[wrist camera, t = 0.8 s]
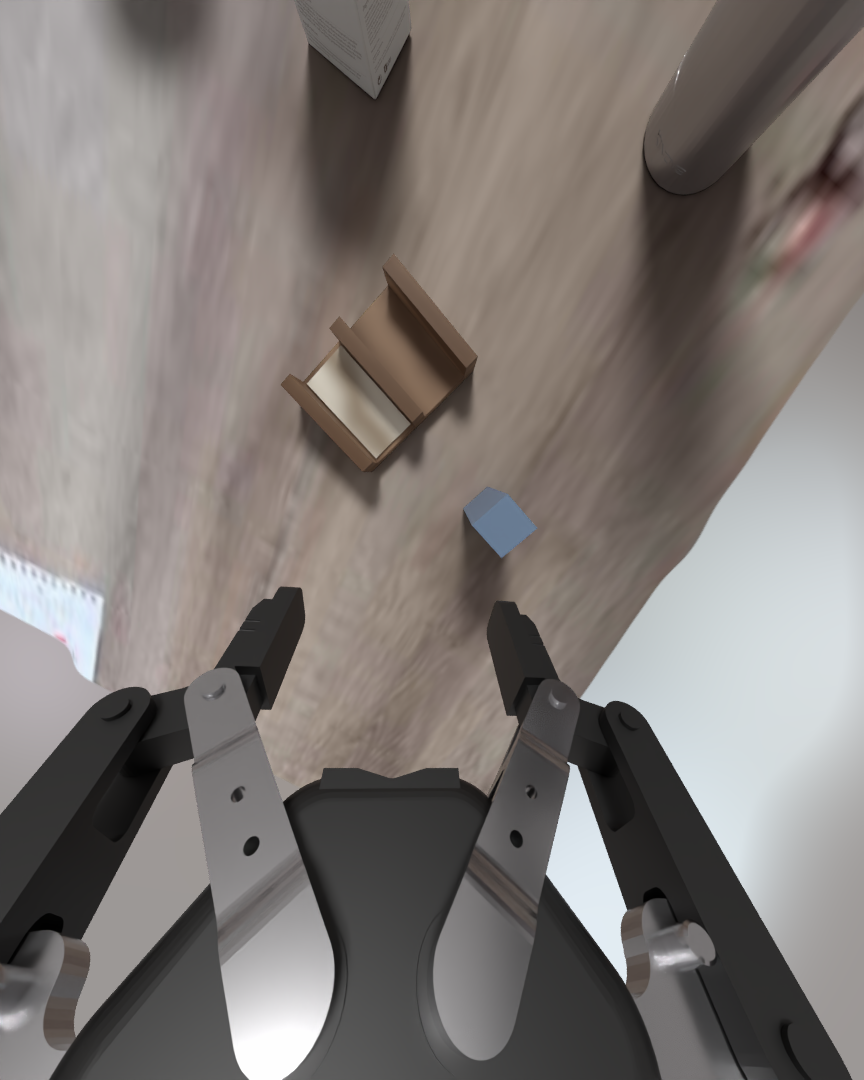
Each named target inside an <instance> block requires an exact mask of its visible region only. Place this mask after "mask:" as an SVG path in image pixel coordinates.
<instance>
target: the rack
mask: <svg viewBox="0 0 864 1080" xmlns="http://www.w3.org/2000/svg"><path fill="white" fill-rule="evenodd" d="M383 270H384V273H385V277H386V280H387V283H388V286H387V287H386V288H385V290H384V291H383V292H382V293H381V294H380V295H379V296H378V297H377V299H376V300H375V301H374V302H373V303H372V304H371V305H370V307H369V308H368V309H367V310H366V311H365V312H364V313H363V315H362V316H361V317H360V318H359V319H358V320H357V321H356V322H355V324H354V325H353V326H352V327H351V328H349V327H348V326H347V324H346V323H345V322H344V321H343V320H342V319H341V318H340V316H339V318H338V319H337V320H336V321H335V322H334V323H333V324H332V326H331V327H330V328H329V329H330V330H331V331H332V332H333V334H334V335H335V336H336V337H337V339H338V340H339V342H338V343H337V344H336V345H335V346H334V348H333V349H332V350H331V351H330V352H329V353H328V354H327V355H326V357H325V358H324V359H323V360H322V361H321V362H320V363H319V365H318V366H317V367H316V368H315V369H314V370H313V371H312V373H311V374H310V375H309V376H308V377H307V378H306V379H305V381H304V382H302V381H301V380H299V379H297V378H296V377H294V376H293V375H291V374H289V375H288V377H287V378H286V379H285V380H284V381H283V382H282V384H281V386H282V387H283V388H284V389H285V390H286V391H287V392H288V393H289V394H290V395H291V396H292V397H293V398H294V400H295V401H296V402H297V403H298V404H299V405H300V406H301V407H302V408H303V409H304V410H305V411H306V412H307V413H308V414H309V415H310V416H311V418H312V419H313V420H314V421H315V422H316V423H317V424H318V425H319V426H320V427H321V428H322V429H323V430H324V431H325V432H326V433H327V434H328V436H329V437H330V438H331V439H332V440H333V441H334V442H335V443H336V444H337V445H338V446H339V447H340V448H341V449H342V450H343V451H344V452H345V454H346V455H347V456H348V457H349V458H350V459H351V460H352V461H353V462H354V463H355V464H356V465H357V466H358V467H359V468H360V469H361V471H362V472H372V471H373V470H374V469H375V468H376V467H377V466H378V465H379V464H380V463H381V462H382V461H383V460H384V459H385V458H386V457H387V456H388V455H389V454H390V453H391V452H392V451H393V450H394V449H395V448H396V447H397V446H398V445H399V444H400V443H401V442H402V441H403V440H404V439H406V438H407V437H408V436H409V435H410V434H411V433H412V432H413V431H414V430H415V429H416V428H417V427H418V426H419V425H420V424H421V423H422V422H423V421H424V420H425V419H426V418H427V417H428V416H429V415H430V414H431V413H432V412H433V411H434V410H435V409H436V408H437V407H438V406H439V405H440V404H441V403H442V402H443V401H444V400H445V399H446V398H447V397H448V396H449V395H450V394H451V393H452V392H453V391H454V390H455V389H456V388H457V387H458V386H459V385H460V384H461V383H462V382H463V381H464V380H465V379H466V378H467V377H468V376H469V375H470V374H471V373H472V372H473V370H474V367H475V364H476V360H477V357H478V356H477V355H476V354H475V353H474V351H473V350H472V349H471V348H470V346H469V345H468V344H467V343H466V342H465V340H464V339H463V338H462V337H461V335H460V334H459V333H458V332H457V331H456V329H455V328H454V327H453V326H452V324H451V323H450V322H449V321H448V319H447V318H446V317H445V316H444V315H443V313H442V312H441V311H440V310H439V308H438V307H437V306H436V305H435V304H434V302H433V301H432V300H431V299H430V297H429V296H428V295H427V294H426V293H425V291H424V290H423V289H422V288H421V286H420V285H419V284H418V283H417V281H416V280H415V279H414V278H413V277H412V275H411V274H410V273H409V272H408V270H407V269H406V268H405V267H404V266H403V264H402V263H401V262H400V261H399V259H398V258H397V257H396V256H395V255H394V254H393V255H392V256H391V257H390V258H389V260H388V261H387V262H386V263H385V264H384V265H383Z"/></svg>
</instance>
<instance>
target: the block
mask: <svg viewBox="0 0 864 1080" xmlns="http://www.w3.org/2000/svg"><path fill="white" fill-rule="evenodd" d="M463 509H464V511H465V513H466V515H467V517H468V519H469V521H470V523H471V525H472V526H473V527H474V528H475V529H476V530H477V531H478V533H479V534H480V535H481V536H482V537H483V538H484V539H485V540H486V541H487V542H488V544H489V545H490V546H491V547H492V548H493V549H494V550H495V551H496V552H497V554H498V555H499V556H500V557H501V558H502V557H503V556H505V555H506V554H507V553H508V552H509V551H511V550H512V549H513V548H514V547H515V546H517V545H518V544H519V543H520V542H521V541H523V540H524V539H525V538H526V537H527V536H529V535H530V534H531V533H532V532H533V531H535V530H536V529H537V527H536V526H535V525H534V524H533V523H532V522H531V520H530V519H529V518H528V517H527V516H526V515H525V513H524V512H523V511H522V510H521V509H520V508H519V507H518V505H517V504H516V503H515V502H514V501H513V500H512V498H511V497H510V496H509V495H508V494H506V493H504V492H501V491H498V490H495V489H493V488H490V487H487V488H485V489H484V490H483V491H482V492H481V493H480V494H479V495H478V496H477V497H475V498H474V499H473V500H472V501H471V502H470V503H469V504H468V505H466V506H465V507H464V508H463Z"/></svg>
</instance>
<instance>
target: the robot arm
mask: <svg viewBox="0 0 864 1080" xmlns="http://www.w3.org/2000/svg"><path fill="white" fill-rule="evenodd" d="M863 27H864V0H717V1H716V3H715V5H714V7H713V8H712V10H711V12H710V13H709V15H708V17H707V19H706V20H705V22H704V24H703V25H702V27H701V29H700V31H699V32H698V34H697V36H696V37H695V39H694V41H693V43H692V44H691V46H690V48H689V49H688V51H687V53H686V54H685V56H684V58H683V59H682V61H681V63H680V65H679V66H678V68H677V70H676V71H675V73H674V75H673V77H672V78H671V80H670V82H669V83H668V85H667V87H666V89H665V90H664V92H663V94H662V96H661V97H660V99H659V101H658V102H657V104H656V106H655V108H654V110H653V112H652V114H651V116H650V118H649V122H648V125H647V129H646V133H645V141H644V151H645V159H646V163H647V167H648V169H649V172H650V174H651V176H652V177H653V179H654V180H655V181H656V182H657V183H658V185H659V186H661V187H662V188H664V189H665V190H667V191H669V192H672V193H675V194H684V195H686V194H692V193H697V192H699V191H701V190H704V189H706V188H708V187H709V186H711V185H712V184H713V183H715V182H716V181H717V180H718V179H719V178H720V177H721V176H722V175H723V174H724V173H725V172H726V171H727V170H728V169H729V168H730V167H731V166H732V165H733V164H734V163H735V162H736V161H737V160H738V159H739V158H740V157H741V155H742V154H743V153H744V152H745V151H746V150H747V149H748V148H749V147H750V146H751V145H752V144H753V143H754V142H755V141H756V140H757V139H758V138H759V137H760V136H761V135H762V134H763V133H764V131H765V130H766V129H767V128H768V127H769V126H770V125H771V124H772V123H773V122H774V121H775V120H776V119H777V118H778V117H779V116H780V115H781V114H782V112H783V111H784V110H785V109H786V108H787V107H788V106H789V105H790V104H791V103H792V102H793V101H794V100H795V99H796V98H797V97H798V96H799V94H800V93H801V92H802V91H803V90H804V89H805V88H806V87H807V86H808V85H809V84H810V83H811V82H812V81H813V80H814V79H815V78H816V77H817V75H818V74H819V73H820V72H821V71H822V70H823V69H824V68H825V67H826V66H827V65H828V64H829V63H830V62H831V61H832V60H833V59H834V58H835V56H836V55H837V54H838V53H839V52H840V51H841V50H842V49H843V48H844V47H845V46H846V45H847V44H848V43H849V42H850V41H851V40H852V38H853V37H854V36H855V35H856V34H857V33H858V32H859V31H860V30H861V29H862V28H863ZM304 624H305V610H304V602H303V594H302V589H301V588H297V587H280V588H279V589H278V590H277V592H276V594H275V596H274V597H273V599H263V600H262V601H261V602H260V603H258V604H257V605H256V606H255V607H253V608H252V610H251V611H250V613H249V615H248V616H247V618H246V619H245V622H243V624H242V626H241V627H240V630H239V631H238V632H237V634H236V635H235V637H234V638H233V640H232V642H231V643H230V645H229V646H228V648H227V649H226V651H225V653H224V654H223V656H222V657H221V659H220V661H219V662H218V664H217V665H216V667H215V668H214V669H213V670H211V671H208V672H206V673H204V674H202V675H201V676H199V677H198V678H197V679H195V680H194V681H193V682H192V683H191V685H190V686H188V687H185V688H182V689H178V690H173V691H169V692H165V693H161V694H157V695H152V696H151V695H150V693H149V692H148V691H147V690H146V689H144V688H141V687H129V688H124V689H121V690H118V691H116V692H113V693H111V694H109V695H107V696H106V697H104V698H102V699H101V700H99V701H98V702H97V703H95V704H94V705H93V706H92V707H91V708H90V709H89V710H88V711H87V712H86V713H85V715H84V716H83V717H82V718H81V719H80V721H79V722H78V723H77V724H76V725H75V726H74V728H73V729H72V730H71V731H70V733H69V734H68V735H67V736H66V737H65V739H64V740H63V741H62V742H61V743H60V744H59V745H58V747H57V748H56V749H55V750H54V752H53V753H52V754H51V755H50V756H49V757H48V759H47V760H46V761H45V762H44V763H43V765H42V766H41V767H40V768H39V769H38V771H37V772H36V773H35V774H34V775H33V776H32V778H31V779H30V780H29V781H28V783H27V784H26V785H25V786H24V787H23V788H22V790H21V791H20V792H19V793H18V794H17V796H16V797H15V798H14V799H13V801H12V802H11V803H10V804H9V805H8V806H7V808H6V809H5V810H4V811H3V812H2V813H1V815H0V1080H852V1079H851V1076H850V1074H849V1072H848V1070H847V1068H846V1066H845V1064H844V1063H843V1061H842V1058H841V1057H840V1055H839V1053H838V1051H837V1050H836V1048H835V1046H834V1044H833V1043H832V1041H831V1039H830V1038H829V1036H828V1034H827V1032H826V1031H825V1029H824V1027H823V1025H822V1024H821V1022H820V1020H819V1018H818V1017H817V1015H816V1013H815V1012H814V1010H813V1008H812V1006H811V1005H810V1003H809V1001H808V999H807V998H806V996H805V994H804V992H803V991H802V989H801V987H800V986H799V984H798V982H797V980H796V979H795V977H794V975H793V973H792V972H791V970H790V968H789V966H788V965H787V963H786V961H785V960H784V958H783V956H782V954H781V953H780V951H779V949H778V947H777V946H776V944H775V942H774V940H773V939H772V937H771V935H770V934H769V932H768V930H767V928H766V926H765V925H764V923H763V921H762V920H761V918H760V917H759V915H758V913H757V911H756V909H755V907H754V906H753V904H752V902H751V900H750V899H749V897H748V895H747V893H746V892H745V890H744V888H743V887H742V885H741V883H740V881H739V880H738V878H737V876H736V875H735V873H734V871H733V869H732V867H731V866H730V864H729V862H728V861H727V859H726V857H725V855H724V854H723V852H722V850H721V848H720V847H719V845H718V843H717V841H716V840H715V838H714V836H713V835H712V833H711V831H710V829H709V828H708V826H707V824H706V823H705V821H704V819H703V817H702V816H701V814H700V812H699V810H698V808H697V807H696V805H695V804H694V802H693V800H692V798H691V797H690V795H689V793H688V791H687V789H686V788H685V786H684V784H683V782H682V781H681V779H680V777H679V776H678V774H677V772H676V770H675V769H674V767H673V765H672V763H671V762H670V760H669V758H668V756H667V755H666V753H665V751H664V749H663V748H662V746H661V745H660V743H659V741H658V739H657V737H656V736H655V734H654V732H653V731H652V729H651V727H650V725H649V724H648V722H647V720H646V719H645V718H644V717H643V715H642V714H641V713H640V712H638V711H637V710H636V709H635V708H633V707H632V706H630V705H628V704H626V703H623V702H620V701H612V702H610V703H608V704H607V706H606V707H605V708H604V707H601V706H598V705H595V704H592V703H589V702H587V701H583V700H581V699H579V698H578V697H577V696H576V694H575V693H574V691H573V690H572V689H571V688H570V687H569V686H567V685H566V684H564V683H563V682H561V681H560V680H559V678H558V676H557V673H556V671H555V669H554V666H553V664H552V662H551V660H550V657H549V655H548V653H547V651H546V648H545V646H543V642H542V639H541V637H540V635H539V633H538V630H537V628H536V626H535V624H534V623H533V622H532V621H531V620H530V619H529V617H528V616H527V615H520V613H519V610H518V608H517V605H516V604H515V602H508V601H496V602H495V604H494V607H493V611H492V614H491V617H490V620H489V623H488V627H487V640H488V644H489V648H490V652H491V656H492V660H493V663H494V667H495V671H496V675H497V679H498V683H499V687H500V691H501V695H502V699H503V703H504V707H505V711H506V715H507V716H517V719H518V723H519V725H518V726H517V729H516V731H515V733H514V736H513V738H512V740H511V743H510V745H509V747H508V750H507V752H506V755H505V757H504V759H503V762H502V764H501V766H500V769H499V771H498V773H497V775H496V778H495V780H494V782H493V784H492V786H491V788H490V790H489V793H488V795H487V796H486V795H485V794H484V793H483V792H482V791H481V790H479V789H478V788H477V787H475V786H474V785H472V784H470V783H468V782H466V781H464V780H462V779H459V771H458V768H425V769H422V770H419V771H416V772H413V773H410V774H407V775H403V776H400V777H397V778H387V777H384V776H381V775H378V774H374V773H371V772H368V771H365V770H362V769H359V768H324V769H323V774H322V778H321V779H320V780H317V781H314V782H312V783H309V784H307V785H305V786H304V787H302V788H300V789H299V790H297V791H296V792H295V793H293V794H292V795H290V796H289V797H288V798H287V799H286V800H285V801H284V802H282V799H281V796H280V793H279V790H278V787H277V784H276V781H275V778H274V775H273V772H272V769H271V766H270V764H269V761H268V758H267V755H266V752H265V749H264V746H263V743H262V740H261V737H260V734H259V731H258V728H257V726H256V723H255V721H256V718H257V716H258V714H259V711H260V709H262V710H271V709H272V706H273V704H274V701H275V699H276V696H277V694H278V691H279V689H280V686H281V684H282V681H283V679H284V676H285V674H286V671H287V669H288V666H289V664H290V661H291V659H292V656H293V654H294V651H295V649H296V646H297V644H298V641H299V639H300V636H301V634H302V631H303V628H304ZM193 758H194V764H193V765H192V776H193V782H194V788H195V795H196V801H197V807H198V813H199V818H200V825H201V831H202V836H203V842H204V848H205V854H206V860H207V866H208V872H209V878H210V884H209V885H208V886H207V887H206V888H205V890H204V891H203V892H202V893H201V894H200V895H199V896H198V898H197V899H196V900H195V901H194V902H193V903H192V904H191V905H190V906H189V908H188V909H187V910H186V911H185V912H184V913H183V914H182V915H181V917H180V918H179V919H178V920H177V921H176V922H175V923H174V925H173V926H172V927H171V928H170V929H169V930H168V931H167V932H166V933H165V935H164V936H163V937H162V938H161V939H160V940H159V941H158V943H157V944H156V945H155V946H154V947H153V948H152V949H151V950H150V952H149V953H148V954H147V955H146V956H145V957H144V959H142V961H141V962H140V963H139V964H138V965H137V966H136V967H135V969H134V970H133V971H132V972H131V973H130V974H129V975H128V976H127V977H126V979H125V980H124V981H123V982H122V983H121V985H119V986H118V988H117V989H116V990H115V991H114V992H113V993H112V994H111V996H110V997H109V998H108V999H107V1000H106V1001H105V1002H104V1003H103V1004H102V1006H101V1007H100V1008H99V1009H98V1010H97V1011H96V1013H95V1014H94V1015H93V1016H92V1017H91V1019H90V1020H89V1021H88V1023H87V1024H86V1025H85V1026H84V1028H83V1029H82V1030H81V1032H80V1033H79V1034H78V1036H77V1037H75V1032H74V1016H75V1009H76V1006H77V1002H78V999H79V996H80V994H81V991H82V989H83V986H84V983H85V981H86V978H87V975H88V971H89V966H90V952H89V948H88V946H87V945H86V943H84V942H83V941H82V940H81V939H82V937H83V935H84V933H85V931H86V929H87V928H88V926H89V924H90V921H91V920H92V918H93V916H94V914H95V912H96V910H97V908H98V907H99V905H100V903H101V901H102V899H103V897H104V895H105V893H106V891H107V889H108V887H109V885H110V883H111V882H112V880H113V878H114V876H115V874H116V872H117V870H118V868H119V867H120V865H121V863H122V861H123V859H124V857H125V855H126V853H127V851H128V849H129V847H130V846H131V843H132V842H133V840H134V838H135V836H136V834H137V832H138V830H139V828H140V827H141V825H142V823H143V821H144V819H145V817H146V815H147V813H148V811H149V810H150V808H151V806H152V804H153V802H154V800H155V798H156V796H157V794H158V792H159V791H160V789H161V787H162V785H163V783H164V781H165V779H166V777H167V775H168V773H169V771H170V770H171V767H172V766H173V765H174V764H177V763H180V762H183V761H186V760H189V759H193ZM567 762H570V763H572V764H575V765H577V766H578V768H579V771H580V774H581V777H582V780H583V783H584V785H585V788H586V791H587V794H588V797H589V800H590V803H591V806H592V809H593V812H594V814H595V818H596V821H597V823H598V826H599V829H600V832H601V835H602V838H603V841H604V844H605V847H606V849H607V852H608V855H609V858H610V861H611V864H612V867H613V870H614V873H615V875H616V878H617V881H618V884H619V887H620V890H621V893H622V896H623V899H624V902H625V905H626V908H627V912H626V913H625V914H624V916H623V919H622V923H621V937H622V944H623V948H624V954H625V958H626V964H627V980H626V985H625V983H624V981H623V980H622V978H621V977H620V976H619V974H618V972H617V971H616V969H615V968H614V967H613V965H612V964H611V963H610V961H609V960H608V958H607V957H606V956H605V954H604V953H603V952H602V950H601V949H600V947H599V946H598V945H597V943H596V942H595V941H594V939H593V938H592V937H591V935H590V934H589V933H588V931H587V930H586V929H585V927H584V926H583V924H582V923H581V922H580V920H579V919H578V918H577V916H576V915H575V913H574V912H573V911H572V910H571V908H570V907H569V905H568V904H567V903H566V901H565V900H564V898H563V897H562V896H561V895H560V893H559V892H558V891H557V889H556V888H555V887H554V885H553V884H552V882H551V881H550V879H549V878H548V877H547V875H546V870H547V866H548V862H549V857H550V853H551V849H552V845H553V841H554V836H555V832H556V828H557V824H558V819H559V815H560V811H561V807H562V803H563V798H564V794H565V790H566V785H567V781H568V777H569V772H570V766H569V765H568V764H567Z"/></svg>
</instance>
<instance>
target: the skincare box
mask: <svg viewBox="0 0 864 1080" xmlns="http://www.w3.org/2000/svg"><path fill="white" fill-rule="evenodd" d="M294 2H295V4H296V8H297V11H298V14H299V16H300V19H301V22H302V25H303V28H304V31H305V34H306V37H307V40H308V43H309V44H310V45H312V46H313V47H314V48H315V49H316V50H317V51H319V52H320V53H321V54H322V55H323V56H324V57H326V58H327V59H328V60H329V61H330V62H331V63H333V64H334V65H335V66H336V67H337V68H338V69H340V70H341V71H342V72H343V73H344V74H345V75H346V76H348V77H349V78H350V79H351V80H352V81H354V82H355V83H356V84H357V85H358V86H359V87H361V88H362V89H363V90H364V91H365V92H366V93H368V94H369V95H370V96H371V97H372V98H374V99H376V98H377V96H378V94H379V92H380V90H381V88H382V86H383V85H384V83H385V81H386V79H387V77H388V75H389V73H390V71H391V69H392V67H393V65H394V63H395V61H396V59H397V57H398V55H399V53H400V51H401V49H402V47H403V45H404V43H405V41H406V39H407V37H408V35H409V33H410V31H411V19H410V9H409V0H294Z"/></svg>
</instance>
